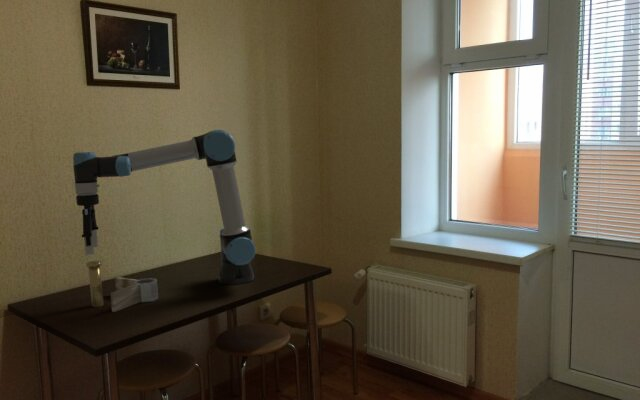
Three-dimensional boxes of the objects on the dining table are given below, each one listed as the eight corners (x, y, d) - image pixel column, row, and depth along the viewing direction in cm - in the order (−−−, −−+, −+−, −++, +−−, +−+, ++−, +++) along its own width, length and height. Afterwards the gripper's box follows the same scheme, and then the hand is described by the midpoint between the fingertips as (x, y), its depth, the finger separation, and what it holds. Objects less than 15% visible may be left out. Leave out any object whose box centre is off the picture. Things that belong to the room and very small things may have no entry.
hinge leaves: (149, 298, 204) (147, 281, 203) (114, 312, 189) (112, 293, 188) (118, 293, 212) (117, 277, 211) (83, 306, 197) (81, 288, 196)
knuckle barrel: (162, 296, 206) (161, 279, 205) (146, 303, 198) (145, 285, 197) (147, 294, 209) (145, 277, 209) (130, 300, 202) (129, 283, 201)
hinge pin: (108, 304, 199) (104, 261, 197) (96, 308, 194) (92, 264, 192) (98, 302, 201) (94, 260, 199) (87, 306, 197) (83, 263, 195)
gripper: (94, 196, 182) (99, 256, 185) (101, 190, 206) (105, 243, 208) (70, 198, 180) (76, 258, 182) (80, 191, 203) (85, 245, 206)
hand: (92, 250), depth 195 cm, fingers open, 13 cm apart
